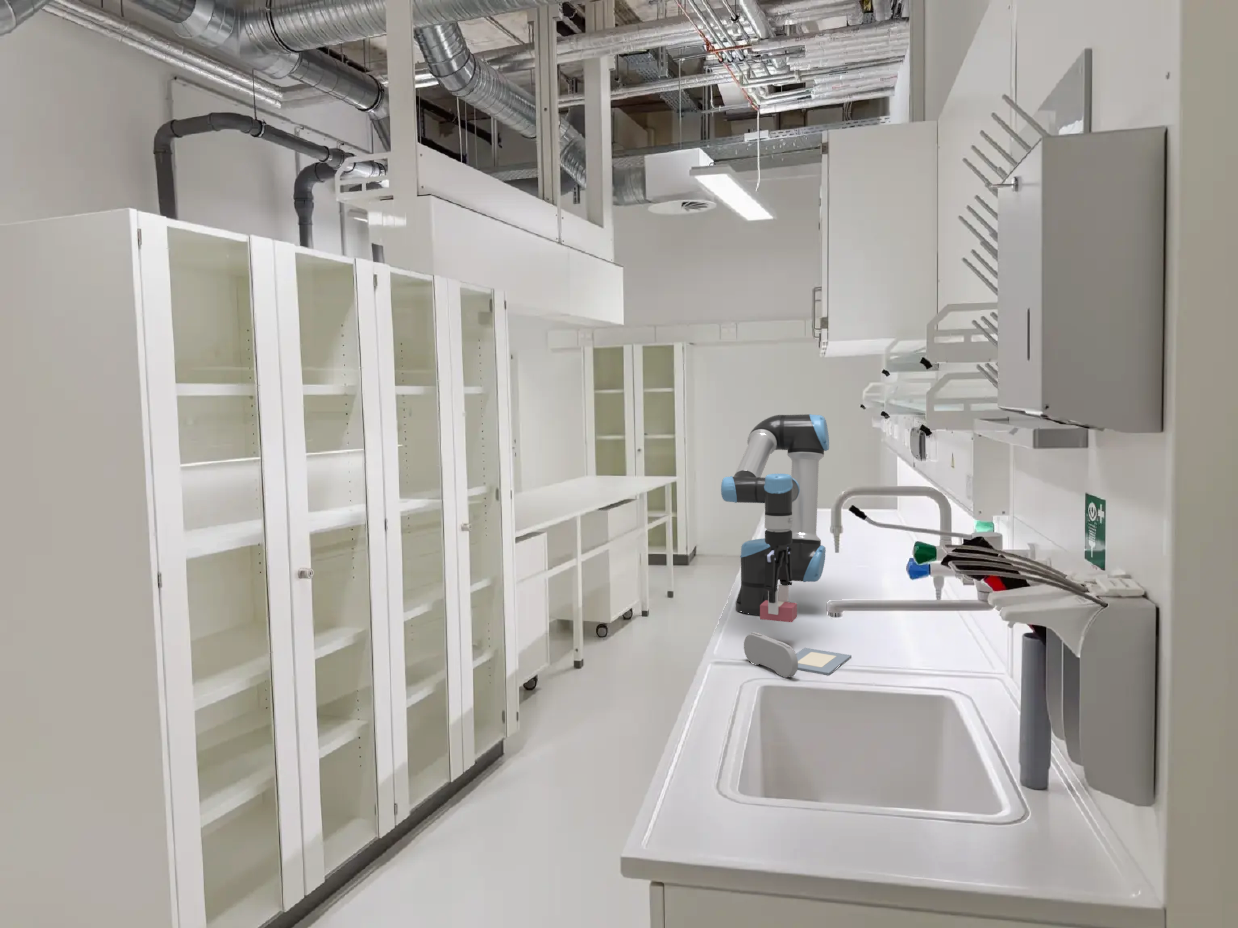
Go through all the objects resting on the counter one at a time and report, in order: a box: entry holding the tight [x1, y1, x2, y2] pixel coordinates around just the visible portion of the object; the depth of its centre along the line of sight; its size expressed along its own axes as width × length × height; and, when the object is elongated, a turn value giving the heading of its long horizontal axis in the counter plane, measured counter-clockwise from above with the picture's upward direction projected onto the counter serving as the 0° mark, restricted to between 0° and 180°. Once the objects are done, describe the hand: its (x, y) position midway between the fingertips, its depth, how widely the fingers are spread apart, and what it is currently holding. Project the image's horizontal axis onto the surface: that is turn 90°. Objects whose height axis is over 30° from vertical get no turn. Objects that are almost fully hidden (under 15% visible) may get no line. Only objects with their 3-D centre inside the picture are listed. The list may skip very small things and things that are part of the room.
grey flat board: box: [795, 647, 852, 676], centre depth 217 cm, size 17×13×1 cm
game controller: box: [743, 632, 798, 678], centre depth 212 cm, size 20×2×8 cm, turn 28°
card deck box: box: [759, 600, 798, 623], centre depth 232 cm, size 6×9×4 cm, turn 65°
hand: (778, 610), depth 232 cm, fingers closed on card deck box, 6 cm apart
